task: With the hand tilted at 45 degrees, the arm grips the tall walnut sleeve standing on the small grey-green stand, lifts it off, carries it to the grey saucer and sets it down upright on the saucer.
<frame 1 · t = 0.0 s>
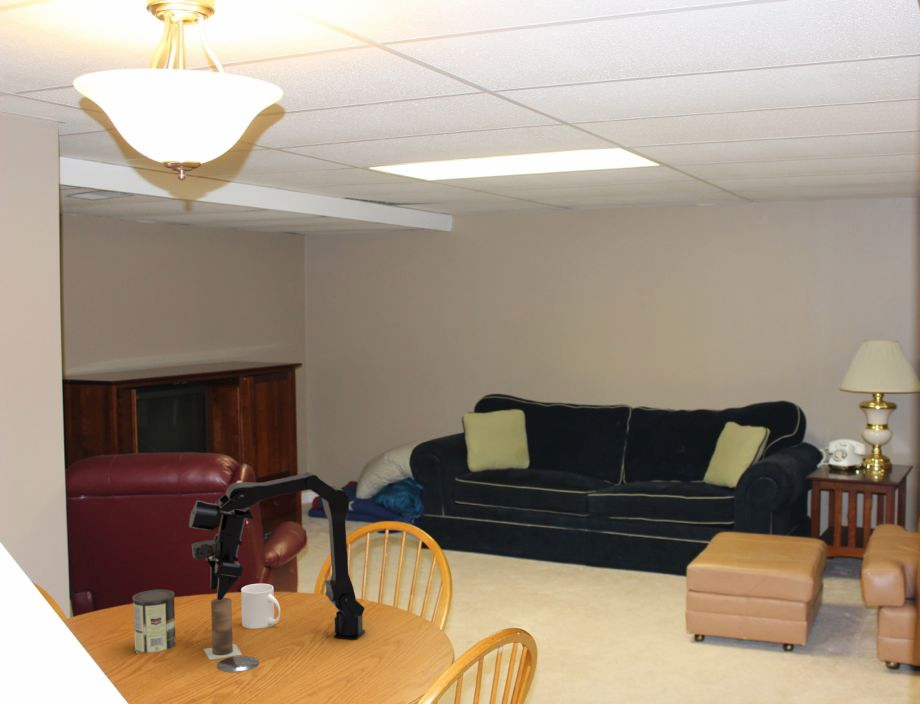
hand: (215, 594, 253), 15 cm above the table, tool pointing down, fingers open, 9 cm apart
grey saucer: (238, 668, 245), on the table
mug: (263, 628, 274), on the table
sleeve: (222, 651, 254), point 1 cm above the table, touching stand
coffee can: (155, 649, 259), on the table
stand: (222, 655, 254), on the table
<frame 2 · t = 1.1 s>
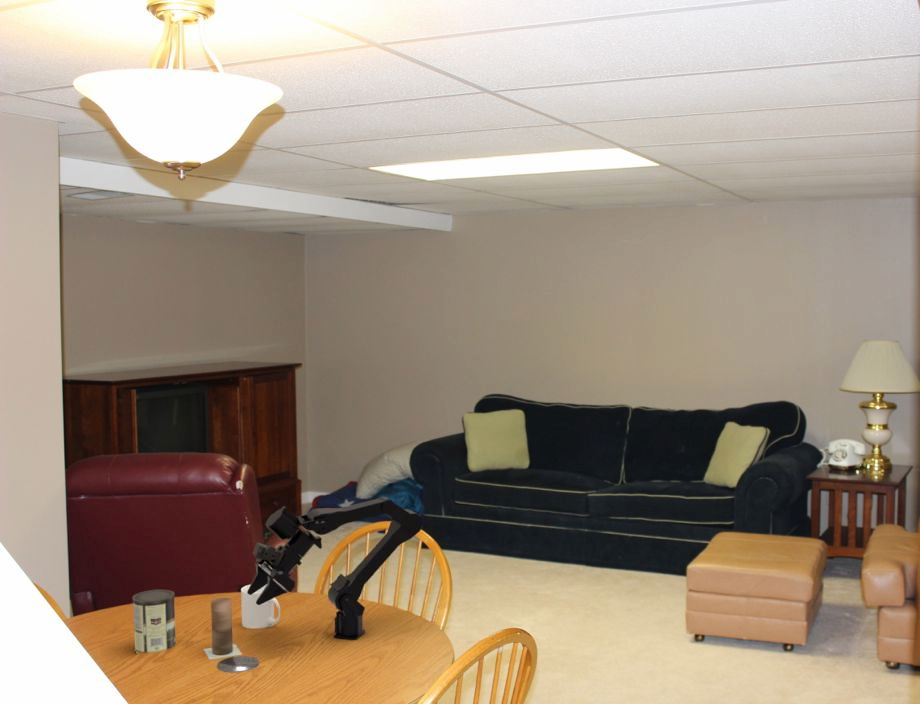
hand: (252, 598, 256), 13 cm above the table, tool tilted 45°, fingers open, 9 cm apart
nothing on the table moved.
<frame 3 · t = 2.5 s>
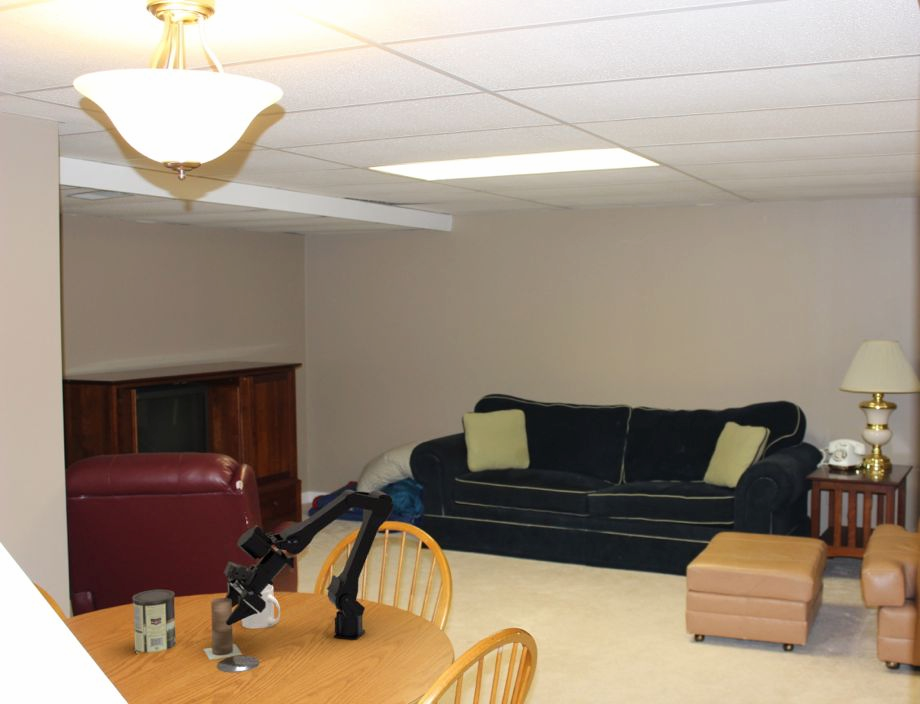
hand: (223, 618, 253), 9 cm above the table, tool tilted 45°, fingers open, 9 cm apart
nothing on the table moved.
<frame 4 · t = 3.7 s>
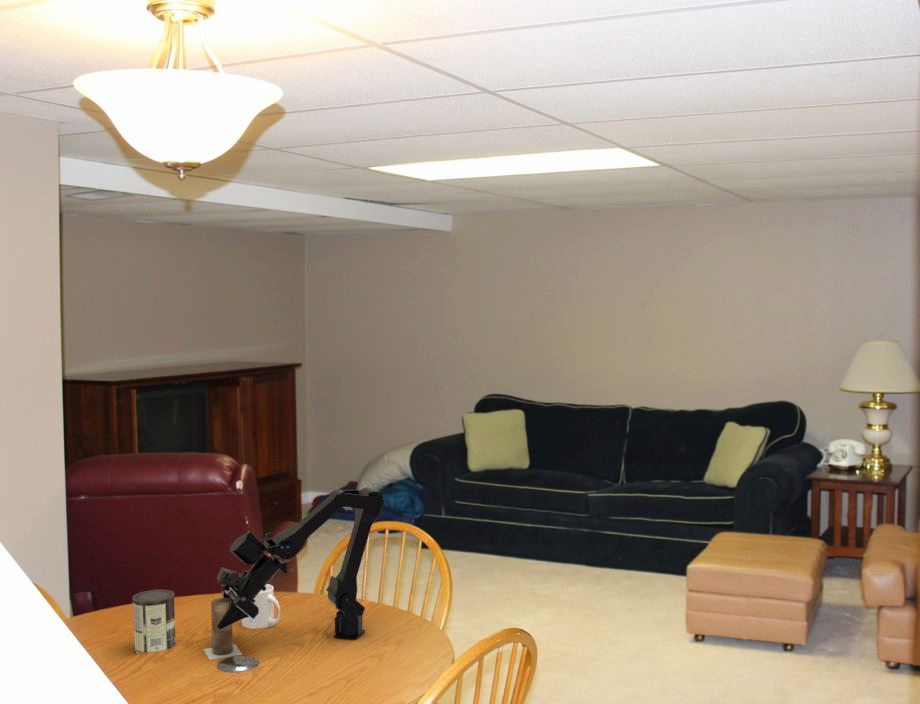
hand: (216, 624, 253), 8 cm above the table, tool tilted 45°, fingers closed on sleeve, 5 cm apart
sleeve: (222, 651, 254), point 1 cm above the table, touching gripper, stand
everything else where it was.
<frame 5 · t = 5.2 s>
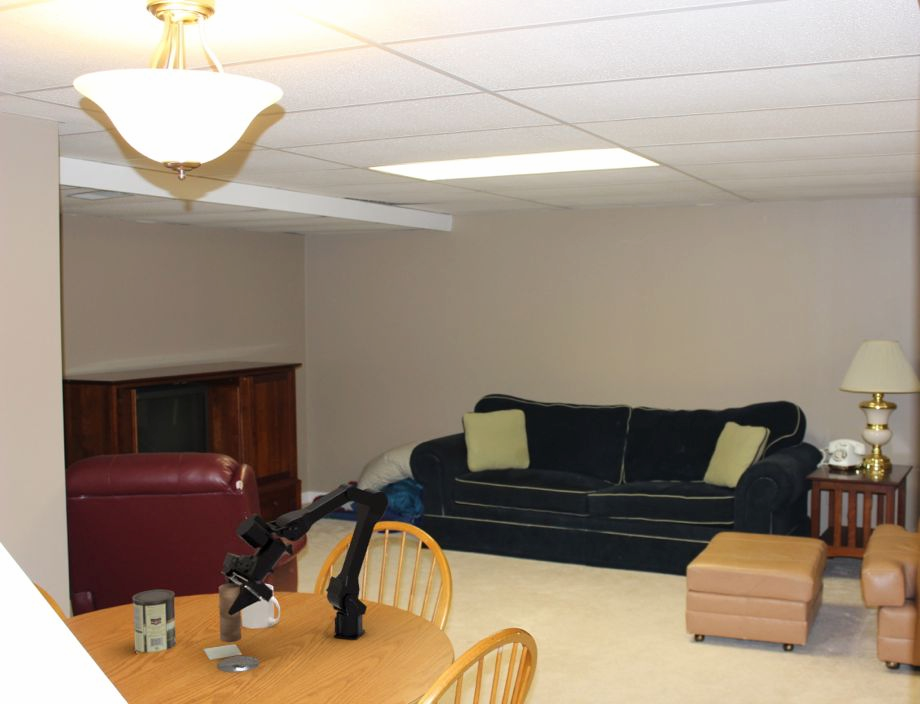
hand: (224, 611, 246), 13 cm above the table, tool tilted 45°, fingers closed on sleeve, 5 cm apart
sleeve: (230, 638, 248), point 6 cm above the table, touching gripper
everything else where it was.
when the fingers open (9 cm above the table, at t = 6.8 s): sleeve drops 1 cm, resting on grey saucer.
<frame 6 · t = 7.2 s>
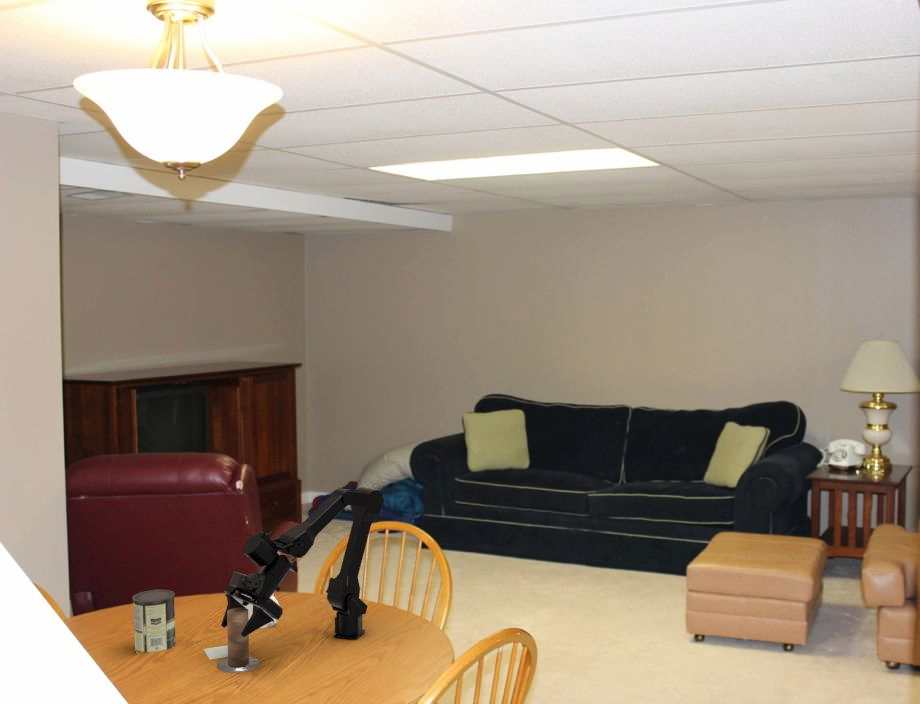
hand: (232, 631, 244), 10 cm above the table, tool tilted 45°, fingers open, 9 cm apart
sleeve: (238, 663, 245), point 1 cm above the table, touching grey saucer
everything else where it was.
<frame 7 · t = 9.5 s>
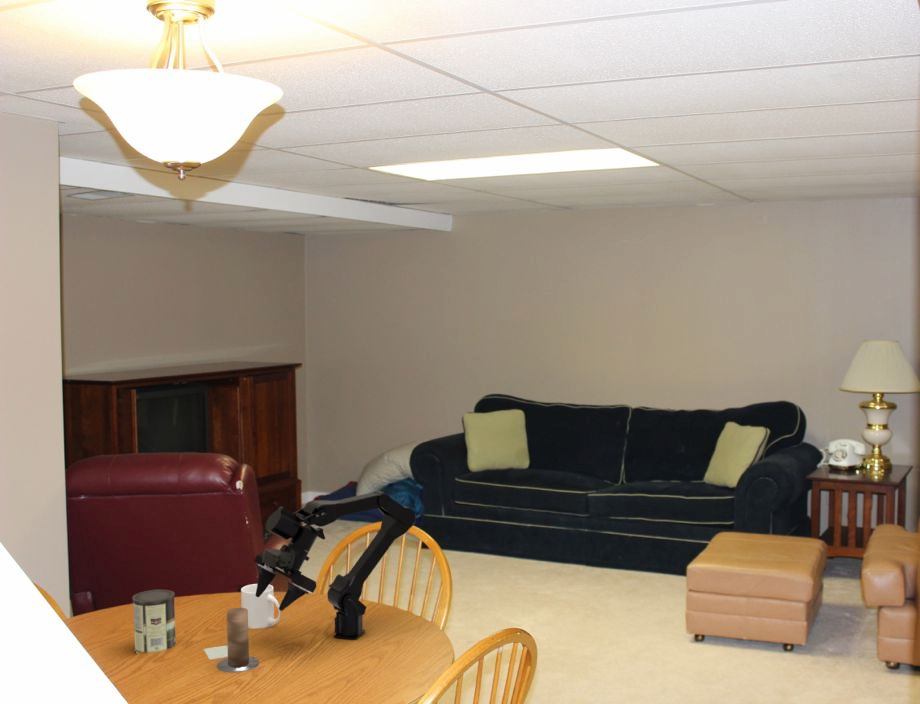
hand: (268, 603, 255), 13 cm above the table, tool tilted 35°, fingers open, 9 cm apart
nothing on the table moved.
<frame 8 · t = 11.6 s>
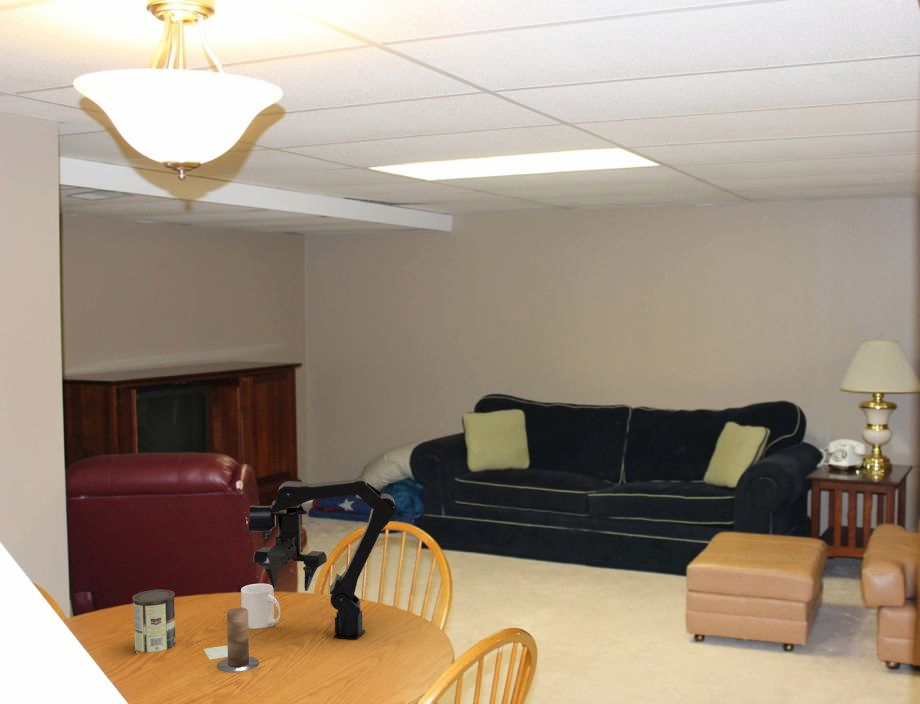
hand: (290, 589, 266), 13 cm above the table, tool pointing down, fingers open, 9 cm apart
nothing on the table moved.
at the end: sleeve 0.1 cm from the grey saucer (horizontally); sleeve tilted 0°; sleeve point 1.2 cm above the table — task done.
